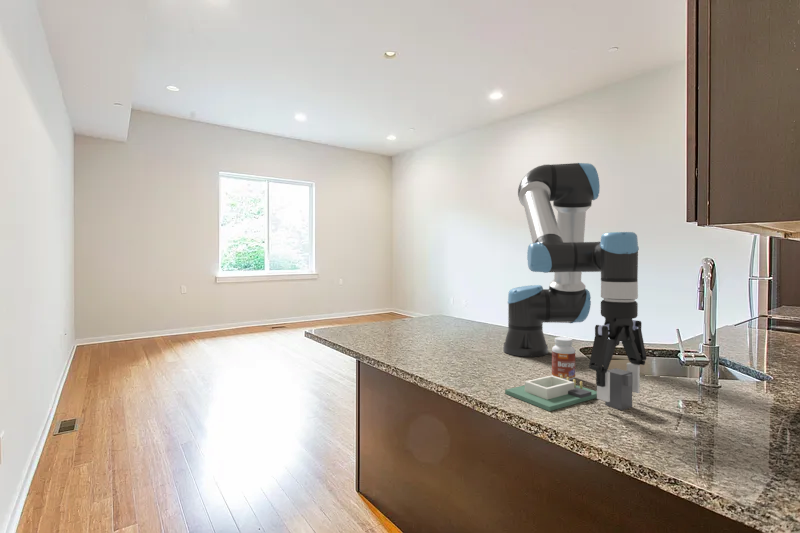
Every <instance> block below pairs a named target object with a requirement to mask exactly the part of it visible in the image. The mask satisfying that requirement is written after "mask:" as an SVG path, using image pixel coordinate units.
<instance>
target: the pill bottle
mask: <svg viewBox="0 0 800 533" xmlns="http://www.w3.org/2000/svg"><path fill="white" fill-rule="evenodd" d="M573 342H574V341H573V338H571V337H566V336H565V337H564V336H558V337H554V344H555V345H553V346H552V348H551V375H552V376H555V377H559V378H560V376H561V375H562V376H563V379H565V380H567V377H569V381H573V379H575V378H576V348H575V347H574V346H573Z"/></svg>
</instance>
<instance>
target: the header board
mask: <svg viewBox="0 0 800 533" xmlns="http://www.w3.org/2000/svg"><path fill="white" fill-rule="evenodd" d="M576 383H577V379H575V378H574V379H572V380H569V377H567V380H565V379H563V376H562V375H561V376H560V378H559V377H555V376H552V374H551V375H547V376H542V377H538V378H534V379H530V380H525V381H524V385H519V386H516V387H512V388H507V389H505V390H504V391H505V392H504V394H505V395H508V396H510V397H513V398H515V399H518V400H520V401H522V402H525V403H527V404H529V405H530V404H531V405H532V406H535V407H538V408H540V409H543V410H545V411H548V412H551V411H555V410H559V409H562V408H565V407H569V406H572V405H577V404H580V403H583V402H586V401H590V400H593V399H597V390H593V389H590V388H587V387H584V386H583V381H579V385H577V384H576Z"/></svg>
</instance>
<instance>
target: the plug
mask: <svg viewBox="0 0 800 533" xmlns="http://www.w3.org/2000/svg"><path fill="white" fill-rule="evenodd" d="M607 372H610V402H606V401H604V404H605V406H608V407H611V408H613V409H615V410H616V409H617V410H618V411H619V410H620V411H625V410H627V409H629V408H630V409H631V408H633V392H632V385H633V375H632V372H629V371H627V370H625V369H621V368H617V367H616V368H612V369H608V370H607Z"/></svg>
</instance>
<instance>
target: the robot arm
mask: <svg viewBox="0 0 800 533" xmlns="http://www.w3.org/2000/svg"><path fill="white" fill-rule="evenodd" d="M599 178H600V177H599V173H598V171H597V168H596V167H595V165H593V164H592V163H589V162H587V163H584V162H573V163H572V162H571V163H555V164H554V163H553V164H543V165H538V166H536V167H534V168H532V169H531V170H530V171H528V172H527V173H526V174H525V175H524V176H523V178H522V179H521V180H520V182H519V184H518V185H519V186H518V188H517V189H518V190H517V197H518V201H519V203H520V205H522V206H523V208H524V212H525V217H526V221H527V224H528V228H529V232H530V236H531V237H530V238H531V240H532V243H530V244H529V245H528V246H527V252H526V253H527V256H526V257H527V258H526V259H527V266H528V267H527V268H528V269H529V270H530V271H531V272H533V273H534V272H535V273H544V274H545V273H554V275H553V276H554V278H553V280H551V281H550V282H549V286H548V288H545V289H544V288H543V285H540V284H534V285H522V286H518V287H513V288H512V289H510V290H509V292H508V297H507V305H508V308H507V310H508V313H507V315H508V316H507V320H508V322H507V323H508V326H507V327H508V328H507V333H506V337H505V342H504V343H503V353H505V354H508V355H511V356H516V357H527V358H528V357H530V358H531V357H542V356H546V355H548V354H549V346H548V344H547V342H546V341H547V340H546V339H545V338H546V337H545V335H544V330H543V329H544V328H543V324H544V323H549V324H550V323H555V324H556V323H557V324H559V323H562V324H563V323H565V324H574V323H575V324H577V323H582V322H585V321H586V319H587V318H588V316H589V314H590V310H591V303H592V301H591V298H592V297H591V292H590V291H589V290H588V289H587V288H586V284H585V283H584V282H582V275H583V274H582V273H598V272H599V273H600V297H601V301H600V315H601V317H604V323H603V325H600V324H595V326H594V334H595V335H594V341H593V345H592V348H591V349H592V350H591V353H590V354H591V355H590V359H589V363H588V364H589V365H588V368H589V369H591V370H593V371H595V379H596V381H595V382H596V383H595V384H596V391H597V398H596V399H597V400H599V401H603V402H605V401H606V402H610V372H607V370H609V367H610V364H611V362H612V358H613V355H614V353H615V350H616V347H617V346H619V345H620V343H621V344H622V346H623V348H624V351H625V354H626V357H627V358H628V361H629V362H626V371H629V372H632V375H633V385H632V393H637V394H639V393H640V391H641V389H640V385H641V384H640V379H641V377H640V376H641V371H640V370H641V365H642V366H644V365H645V364H646V360H647V353H646V346H645V343H644V338H643V333H642V321H641V320H636V318H638V316H639V314H638V313H639V312H638V311H639V310H638V307H639V306H638V305H639V304H638V302H637V301H636V300H637V299H639V294H638V293H639V285H638V284H639V283H638V278H639V277H638V276H639V275H638V274H639V273H638V272H639V270H638V269H639V266H638V265H639V263H638V262H639V243H638V234H636V233H635V232H633V231H617V232H603V233H602V234H601V236H600V237H601V238H600V241H585V230H586V229H585V228H586V216H587V215H586V214H587V213H586V212H587V211H588V210H590V208H591V207H592V205H593V204H592V202H593V201H595V200H597V199H598V198H599V196H600V195H599V194H600V188H601V187H600V179H599ZM551 202H553V203H551ZM553 208H555V210H556V211H557V219H556V216H555V213H554V209H553Z"/></svg>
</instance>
